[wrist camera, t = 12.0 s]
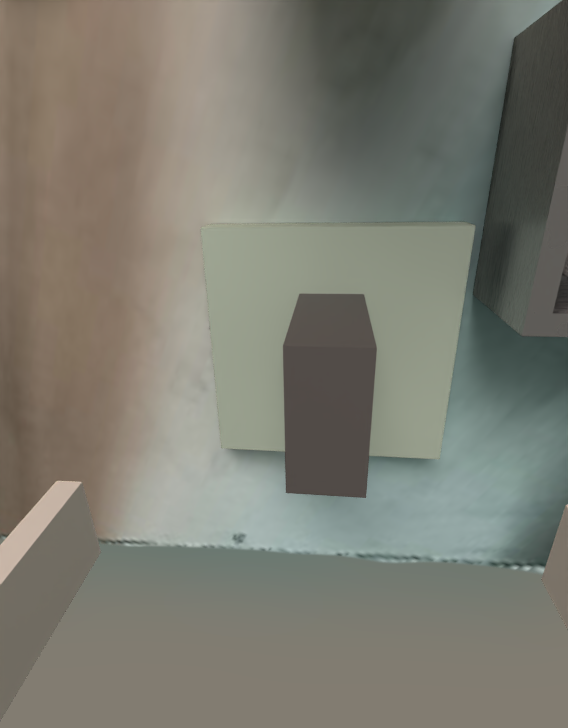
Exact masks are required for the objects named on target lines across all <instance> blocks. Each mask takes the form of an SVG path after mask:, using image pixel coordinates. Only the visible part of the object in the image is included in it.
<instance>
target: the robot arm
mask: <svg viewBox="0 0 568 728" xmlns="http://www.w3.org/2000/svg"><path fill="white" fill-rule="evenodd" d="M100 553H101V551H100V547H99V543H98V539H97V535H96V532H95V528H94V524H93V521H92V517H91V513H90V510H89V506H88V502H87V499H86V495H85V491H84V487H83V484H82V482H73V481H56V482H55V483H54V484H53V486H52V487H51V488H50V489H49V490H48V491H47V492H46V494H45V495H44V496H43V497H42V498H41V499H40V500H39V502H38V503H37V504H36V505H35V506H34V507H33V508H32V509H31V511H30V512H29V513H28V514H27V515H26V516H25V517H24V519H23V520H22V521H21V522H20V523H19V524H18V525H17V527H16V528H15V529H14V530H13V531H12V532H11V533H10V535H9V536H8V537H7V538H6V539H5V540H4V541H3V543H2V544H1V545H0V721H1V719H2V718H3V715H4V714H5V712H6V711H7V709H8V707H9V706H10V704H11V702H12V701H13V699H14V697H15V696H16V694H17V692H18V690H19V689H20V687H21V686H22V684H23V682H24V681H25V679H26V677H27V676H28V674H29V672H30V670H31V669H32V667H33V665H34V664H35V662H36V660H37V659H38V657H39V655H40V653H41V652H42V650H43V649H44V647H45V645H46V644H47V642H48V640H49V639H50V637H51V635H52V633H53V632H54V630H55V628H56V627H57V625H58V623H59V622H60V620H61V618H62V617H63V615H64V613H65V612H66V610H67V608H68V607H69V605H70V603H71V602H72V600H73V598H74V597H75V595H76V593H77V592H78V590H79V588H80V587H81V585H82V583H83V582H84V580H85V578H86V576H87V575H88V573H89V571H90V569H91V568H92V566H93V565H94V563H95V561H96V559H97V558H98V556H99V554H100ZM541 580H542V582H543V584H544V586H545V588H546V589H547V591H548V593H549V595H550V597H551V599H552V601H553V603H554V605H555V607H556V608H557V610H558V612H559V614H560V616H561V618H562V620H563V621H564V624H565V626H566V628H567V629H568V505H566V506H565V509H564V512H563V515H562V518H561V521H560V524H559V528H558V531H557V534H556V537H555V540H554V543H553V546H552V549H551V552H550V555H549V558H548V561H547V564H546V567H545V570H544V573H543V577H542V579H541Z"/></svg>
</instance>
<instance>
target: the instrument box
mask: <svg viewBox="0 0 568 728" xmlns="http://www.w3.org/2000/svg"><path fill="white" fill-rule="evenodd" d="M473 295H474V296H475V297H476V298H477V299H479V300H480V301H481V302H482V303H483V304H485V305H486V306H487V307H488V308H489V309H490V310H492V311H493V312H494V313H495V314H496V315H498V316H499V317H500V318H501V319H502V320H503V321H505V322H506V323H507V324H508V325H509V326H510V327H512V328H513V329H514V330H515V331H516V332H518V333H519V334H520V335H521V336H543V337H568V0H562V1H561V2H559V3H558V4H557V5H556V6H554V7H553V8H552V9H551V10H549V11H548V12H547V13H545V14H544V15H543V16H542V17H540V18H539V19H538V20H537V21H535V22H534V23H533V24H532V25H530V26H529V27H528V28H526V29H525V30H524V31H523V32H521V33H520V34H519V35H518V36H516V37H515V39H514V45H513V51H512V57H511V63H510V69H509V76H508V82H507V88H506V94H505V100H504V106H503V112H502V119H501V125H500V131H499V137H498V143H497V149H496V155H495V162H494V168H493V174H492V180H491V186H490V192H489V198H488V205H487V211H486V217H485V223H484V229H483V235H482V241H481V248H480V254H479V260H478V266H477V272H476V278H475V284H474V291H473Z"/></svg>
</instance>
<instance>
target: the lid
mask: <svg viewBox="0 0 568 728" xmlns="http://www.w3.org/2000/svg"><path fill="white" fill-rule="evenodd" d="M474 232H475V225H472V224H469V223H466V222H389V223H282V224H210V225H207V226H204V227H202V228H201V238H202V249H203V259H204V270H205V280H206V291H207V302H208V312H209V323H210V334H211V344H212V355H213V365H214V376H215V387H216V397H217V408H218V419H219V429H220V440H221V448H226V449H245V450H265V451H285V469H286V493H296V494H313V495H329V496H345V497H362V498H366V490H367V476H368V463H369V456H384V457H404V458H424V459H439V458H440V452H441V445H442V439H443V432H444V426H445V419H446V413H447V407H448V400H449V394H450V387H451V381H452V374H453V368H454V361H455V355H456V349H457V342H458V336H459V329H460V323H461V316H462V310H463V303H464V297H465V290H466V284H467V278H468V271H469V265H470V258H471V252H472V245H473V239H474Z"/></svg>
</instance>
